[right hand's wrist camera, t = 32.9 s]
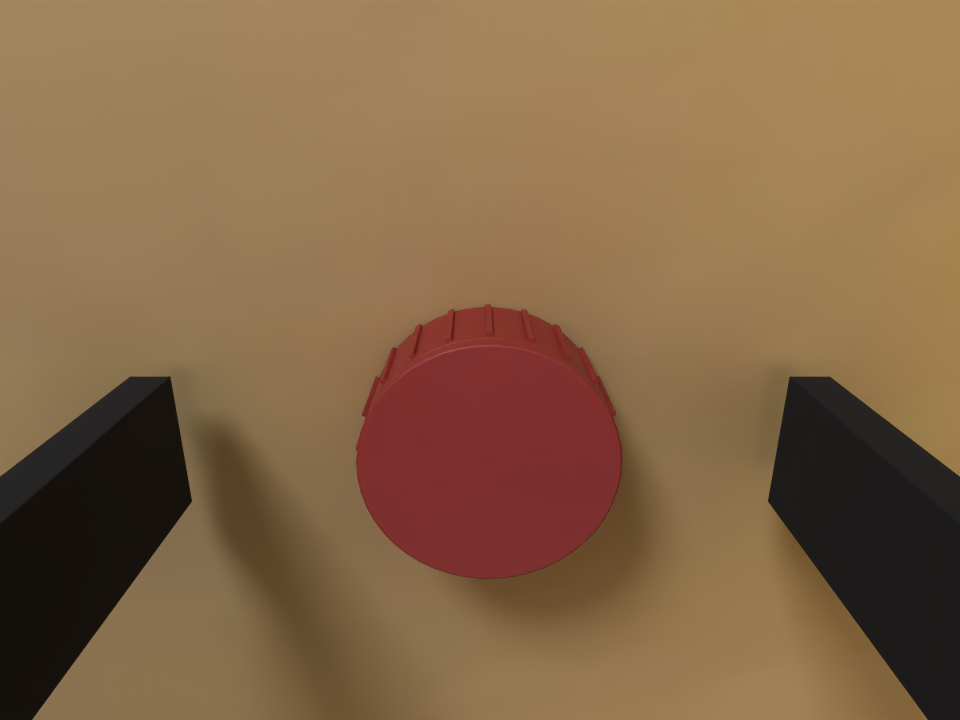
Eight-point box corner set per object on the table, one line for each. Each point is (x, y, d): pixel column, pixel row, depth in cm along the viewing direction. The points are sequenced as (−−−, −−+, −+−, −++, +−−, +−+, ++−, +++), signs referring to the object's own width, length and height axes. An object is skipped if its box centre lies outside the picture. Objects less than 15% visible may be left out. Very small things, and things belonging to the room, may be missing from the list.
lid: (322, 387, 14) (294, 437, 12) (521, 254, 13) (530, 284, 11) (457, 550, 15) (454, 622, 13) (645, 441, 14) (675, 500, 12)
